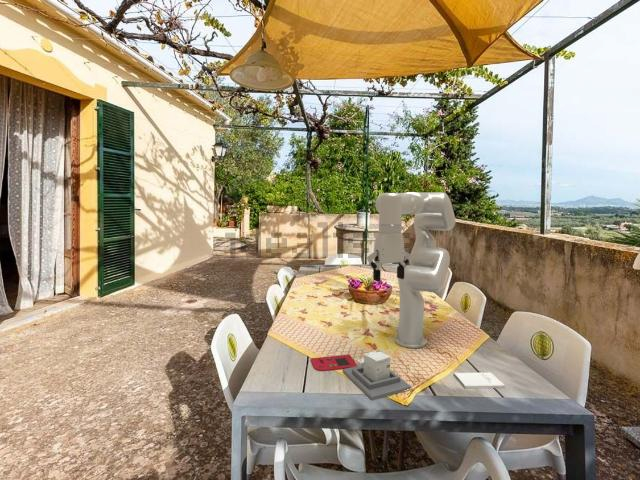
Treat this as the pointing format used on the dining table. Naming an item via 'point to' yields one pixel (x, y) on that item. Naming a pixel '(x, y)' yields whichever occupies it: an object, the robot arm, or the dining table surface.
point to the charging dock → (378, 387)
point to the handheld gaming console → (333, 363)
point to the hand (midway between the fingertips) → (388, 279)
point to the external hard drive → (478, 380)
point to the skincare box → (376, 366)
